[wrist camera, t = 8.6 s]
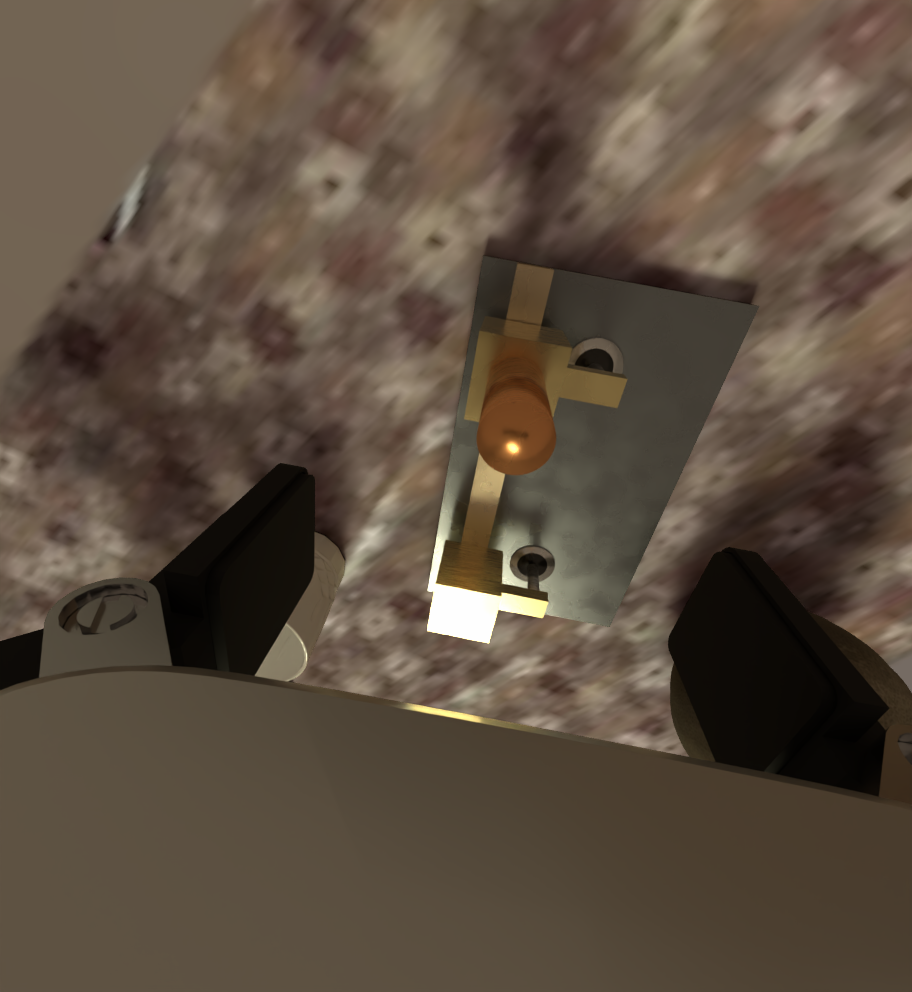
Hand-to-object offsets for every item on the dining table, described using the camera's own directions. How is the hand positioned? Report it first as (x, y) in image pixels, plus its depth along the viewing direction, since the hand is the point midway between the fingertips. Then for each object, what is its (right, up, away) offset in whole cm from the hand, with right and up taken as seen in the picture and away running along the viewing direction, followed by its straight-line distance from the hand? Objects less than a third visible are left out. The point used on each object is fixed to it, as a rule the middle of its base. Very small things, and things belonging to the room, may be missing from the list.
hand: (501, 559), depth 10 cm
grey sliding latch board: (+6, +3, +22) cm, 24 cm away
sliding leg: (+4, +10, +17) cm, 20 cm away
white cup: (-14, -4, +30) cm, 33 cm away
